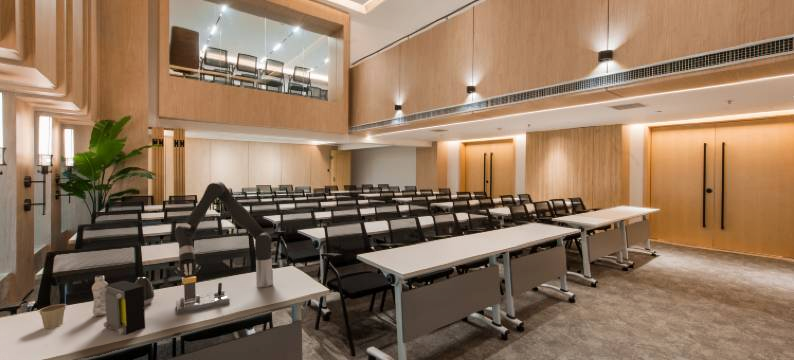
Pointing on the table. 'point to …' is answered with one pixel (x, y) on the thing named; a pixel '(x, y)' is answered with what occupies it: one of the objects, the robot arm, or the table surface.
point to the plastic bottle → (99, 296)
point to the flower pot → (52, 315)
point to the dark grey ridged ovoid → (146, 289)
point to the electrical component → (124, 307)
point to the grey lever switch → (203, 302)
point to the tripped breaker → (189, 289)
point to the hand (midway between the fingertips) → (189, 282)
